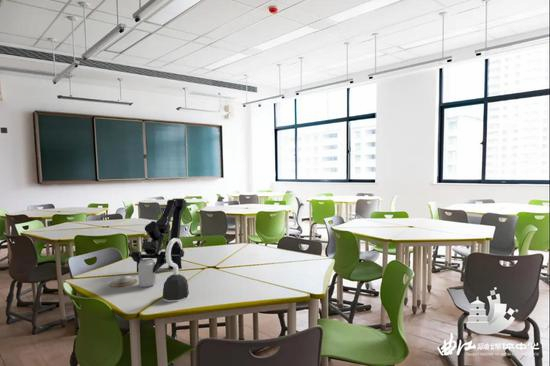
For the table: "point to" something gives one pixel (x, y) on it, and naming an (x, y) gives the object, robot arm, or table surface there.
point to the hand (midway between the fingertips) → (145, 272)
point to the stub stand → (123, 281)
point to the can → (146, 273)
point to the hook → (174, 279)
